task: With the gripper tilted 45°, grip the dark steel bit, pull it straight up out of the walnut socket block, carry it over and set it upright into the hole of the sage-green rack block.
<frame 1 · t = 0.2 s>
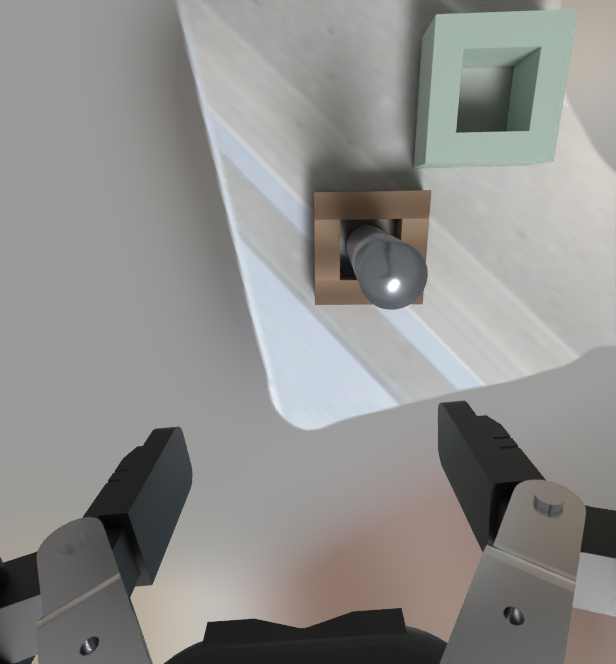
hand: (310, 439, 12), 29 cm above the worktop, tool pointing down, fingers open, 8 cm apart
steel bit: (367, 246, 39), resting in walnut socket
walnut socket: (367, 246, 39), on the worktop
green rack: (476, 104, 34), on the worktop
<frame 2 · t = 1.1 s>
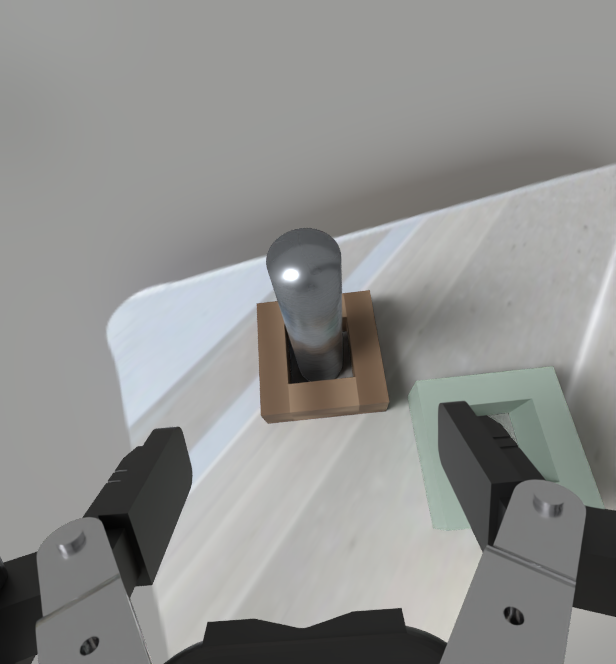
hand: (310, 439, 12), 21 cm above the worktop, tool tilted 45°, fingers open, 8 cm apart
steel bit: (320, 361, 36), resting in walnut socket
walnut socket: (320, 361, 36), on the worktop
green rack: (483, 451, 31), on the worktop
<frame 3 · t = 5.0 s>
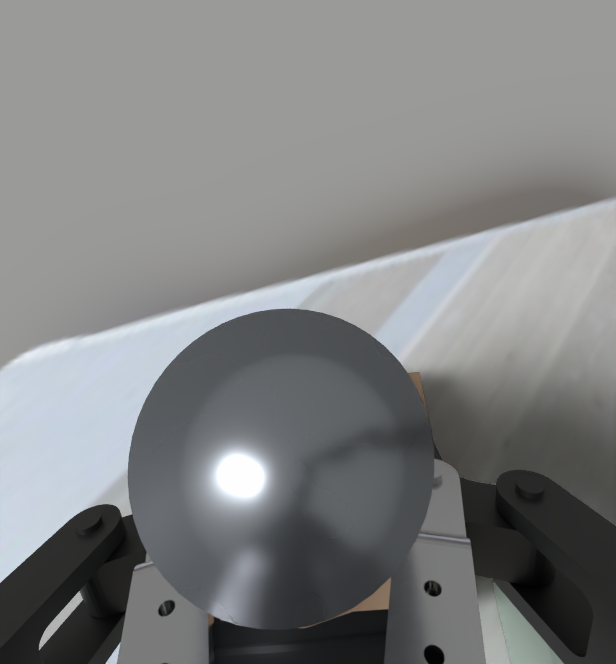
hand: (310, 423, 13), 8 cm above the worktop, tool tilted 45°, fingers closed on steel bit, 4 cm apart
steel bit: (326, 497, 20), resting in walnut socket, touching gripper
walnut socket: (326, 497, 20), on the worktop
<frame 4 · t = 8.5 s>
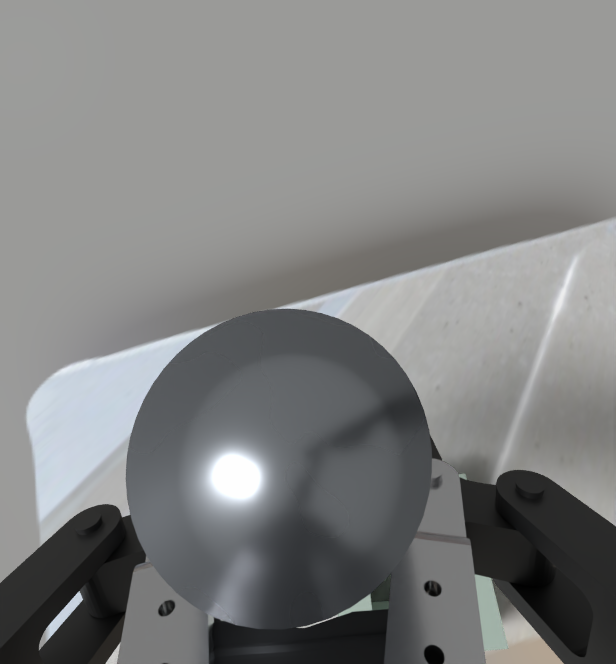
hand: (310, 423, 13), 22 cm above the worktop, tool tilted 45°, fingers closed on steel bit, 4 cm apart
steel bit: (325, 497, 20), point 14 cm above the worktop, touching gripper
green rack: (399, 555, 30), on the worktop
when the fingers open (10 cm above the worktop, at t = 12.2 s): steel bit drops 2 cm, resting in green rack.
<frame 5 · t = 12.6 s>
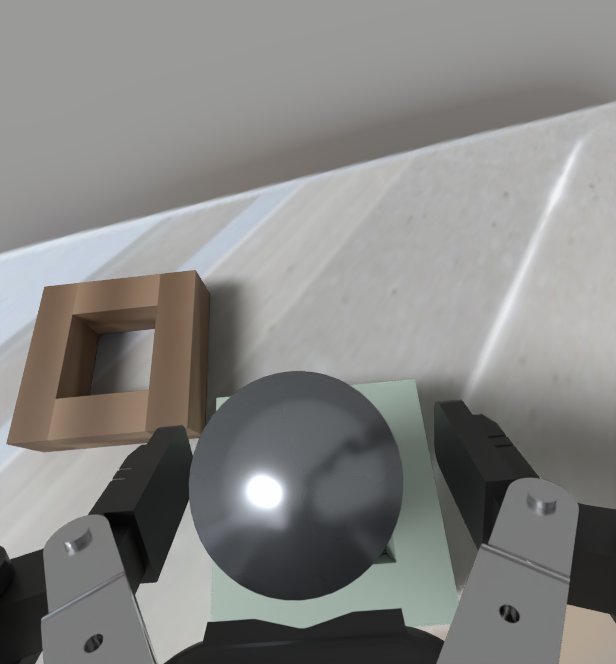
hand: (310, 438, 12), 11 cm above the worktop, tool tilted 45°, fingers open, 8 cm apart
steel bit: (328, 501, 22), resting in green rack
walnut socket: (132, 367, 26), on the worktop
green rack: (327, 499, 22), on the worktop
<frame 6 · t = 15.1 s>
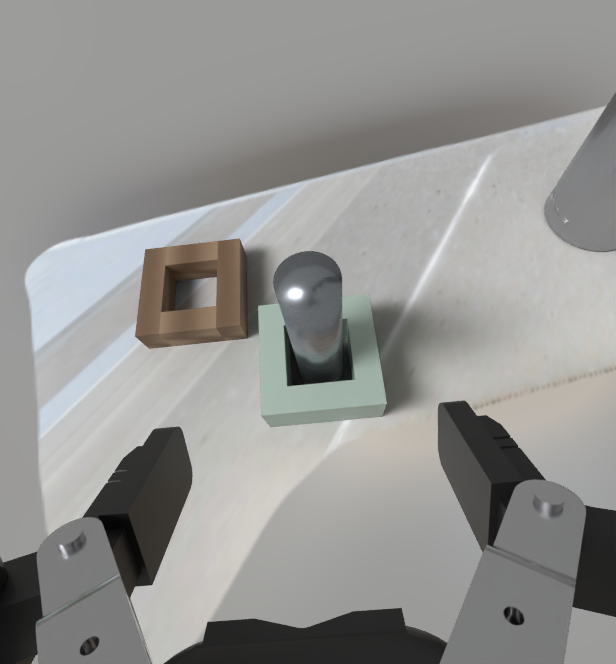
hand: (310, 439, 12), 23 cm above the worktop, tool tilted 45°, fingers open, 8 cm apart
steel bit: (321, 370, 38), resting in green rack
walnut socket: (199, 300, 42), on the worktop
green rack: (320, 369, 38), on the worktop
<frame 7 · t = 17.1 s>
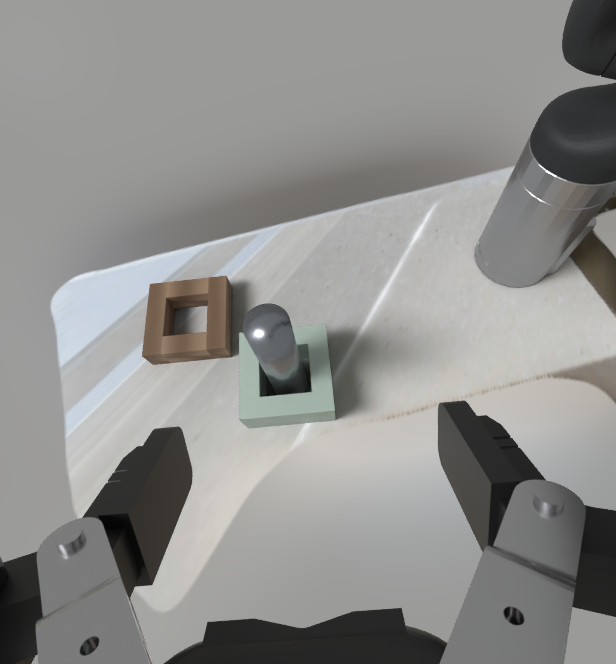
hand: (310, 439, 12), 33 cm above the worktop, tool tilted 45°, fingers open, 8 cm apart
steel bit: (290, 383, 47), resting in green rack
walnut socket: (194, 324, 52), on the worktop
green rack: (289, 382, 47), on the worktop
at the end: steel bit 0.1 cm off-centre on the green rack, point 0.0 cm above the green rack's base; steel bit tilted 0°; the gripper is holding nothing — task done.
